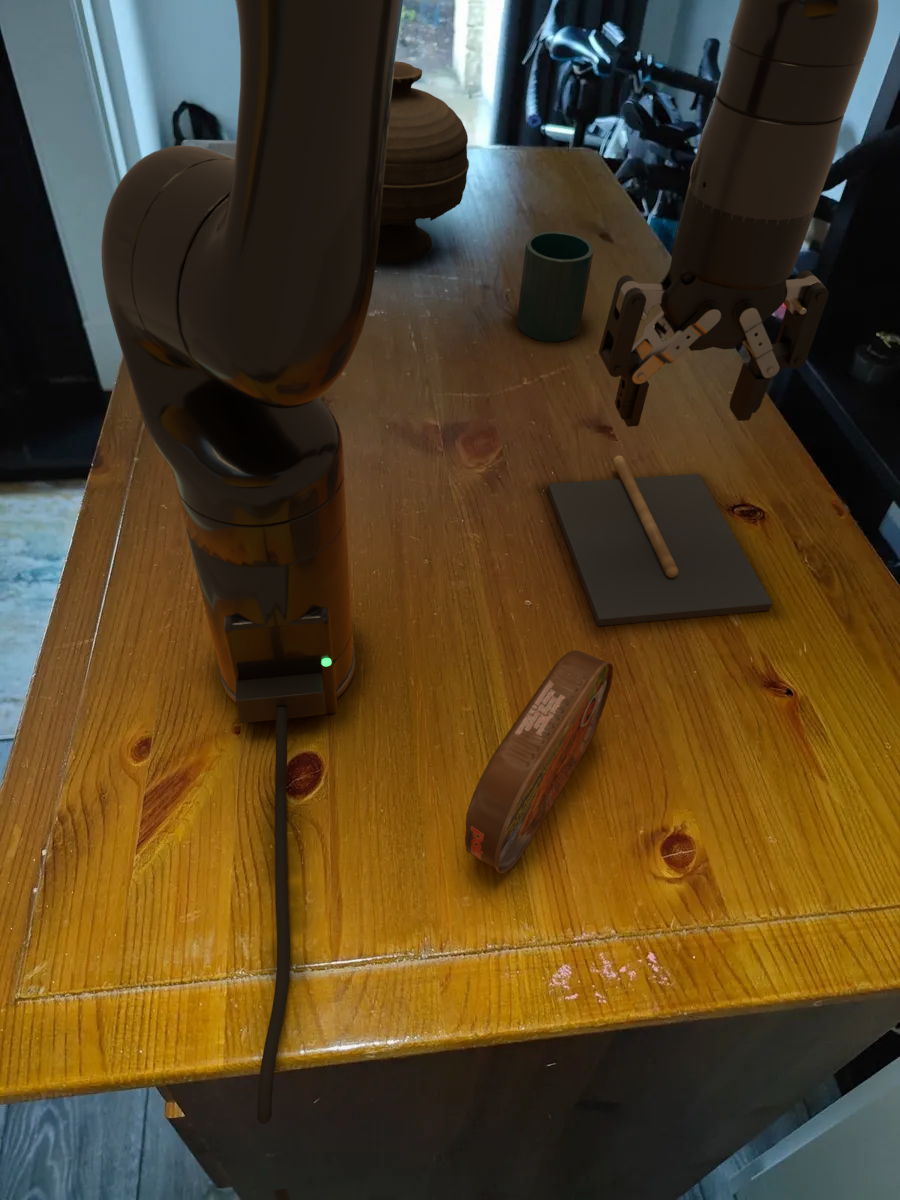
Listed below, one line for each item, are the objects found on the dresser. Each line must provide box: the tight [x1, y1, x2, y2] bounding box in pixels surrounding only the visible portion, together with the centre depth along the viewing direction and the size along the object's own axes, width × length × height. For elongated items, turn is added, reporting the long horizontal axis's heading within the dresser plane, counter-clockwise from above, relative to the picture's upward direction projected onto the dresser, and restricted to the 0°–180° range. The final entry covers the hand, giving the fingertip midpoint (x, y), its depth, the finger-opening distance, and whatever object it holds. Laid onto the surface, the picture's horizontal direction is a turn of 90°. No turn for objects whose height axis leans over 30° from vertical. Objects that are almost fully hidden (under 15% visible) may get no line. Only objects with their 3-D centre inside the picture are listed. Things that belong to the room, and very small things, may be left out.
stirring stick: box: [612, 455, 678, 578], centre depth 71 cm, size 8×1×13 cm
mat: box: [546, 473, 773, 627], centre depth 70 cm, size 16×14×1 cm
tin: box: [464, 649, 614, 874], centre depth 51 cm, size 15×3×8 cm, turn 148°
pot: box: [376, 60, 470, 264], centre depth 99 cm, size 18×18×20 cm
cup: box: [516, 230, 595, 343], centre depth 91 cm, size 7×7×9 cm
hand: (684, 417), depth 62 cm, fingers open, 8 cm apart
